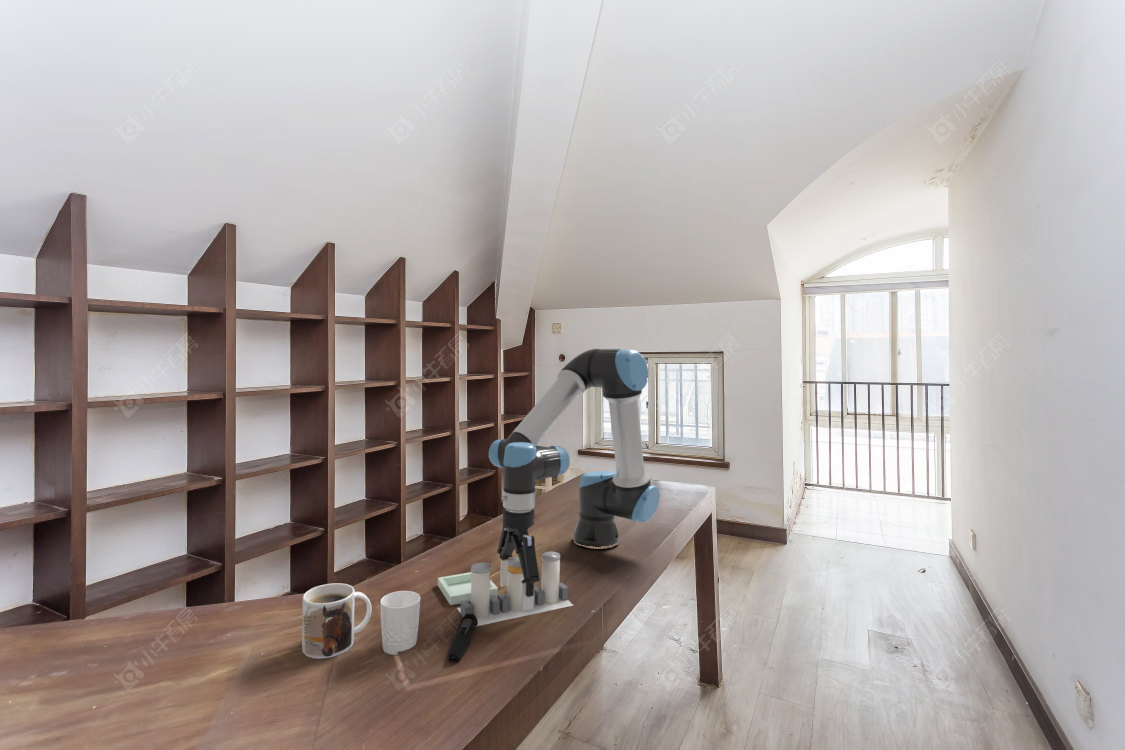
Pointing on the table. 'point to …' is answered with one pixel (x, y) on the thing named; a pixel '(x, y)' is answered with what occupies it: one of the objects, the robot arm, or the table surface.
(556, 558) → the cream grey cylinder
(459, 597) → the tray
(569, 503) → the table surface
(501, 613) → the board
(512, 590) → the marked fuse
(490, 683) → the table surface
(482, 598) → the fuse
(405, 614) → the white cup
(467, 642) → the electric trimmer
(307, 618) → the mug
